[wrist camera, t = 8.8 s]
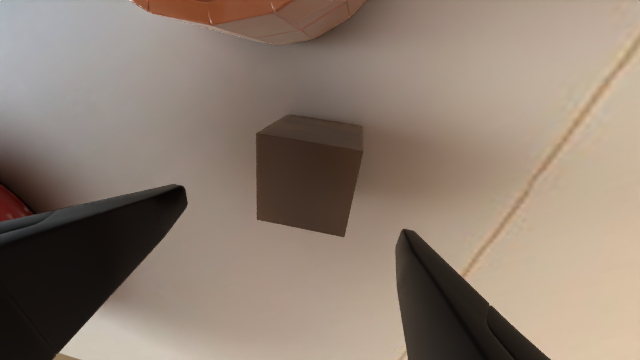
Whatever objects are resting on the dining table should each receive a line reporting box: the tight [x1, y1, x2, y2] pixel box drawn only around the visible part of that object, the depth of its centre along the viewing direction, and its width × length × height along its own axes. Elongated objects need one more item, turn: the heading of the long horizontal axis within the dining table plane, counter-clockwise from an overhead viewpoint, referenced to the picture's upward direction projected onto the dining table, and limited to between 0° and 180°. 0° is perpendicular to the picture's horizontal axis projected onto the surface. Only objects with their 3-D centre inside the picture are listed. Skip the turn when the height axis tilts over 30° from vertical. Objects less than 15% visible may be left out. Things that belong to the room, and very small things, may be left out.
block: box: [256, 115, 363, 237], centre depth 14 cm, size 5×5×5 cm
